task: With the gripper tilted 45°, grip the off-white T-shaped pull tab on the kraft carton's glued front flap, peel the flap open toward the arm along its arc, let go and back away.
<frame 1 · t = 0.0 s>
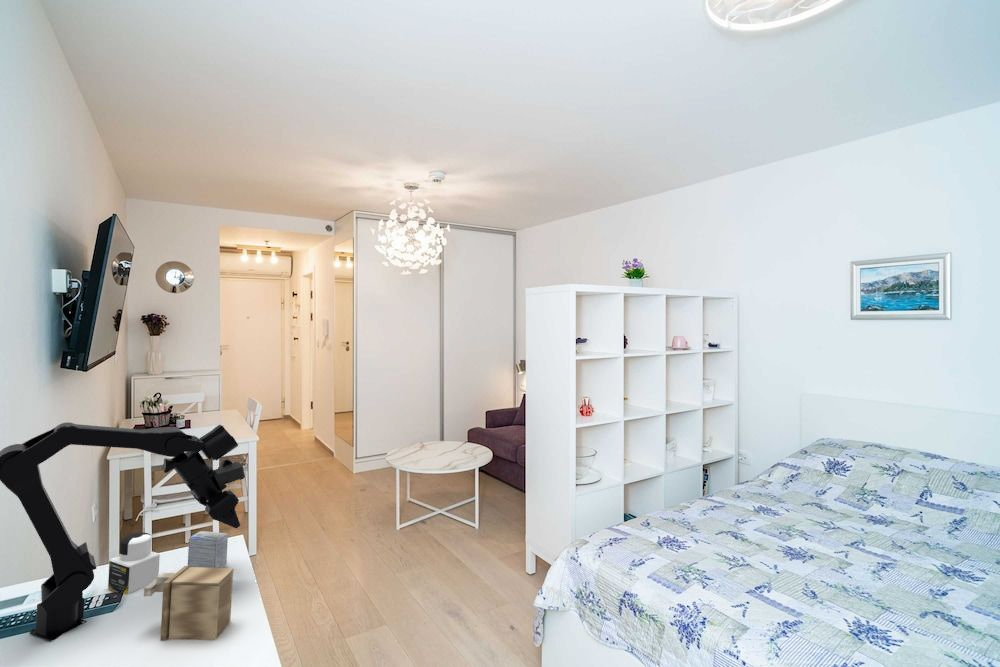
hand: (232, 520, 120), 15 cm above the table, tool tilted 35°, fingers open, 9 cm apart
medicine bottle: (133, 586, 115), on the table
medicine box: (207, 569, 125), on the table
carton: (200, 633, 99), on the table
flap: (165, 601, 99), point 6 cm above the table, hinge at 0.0°
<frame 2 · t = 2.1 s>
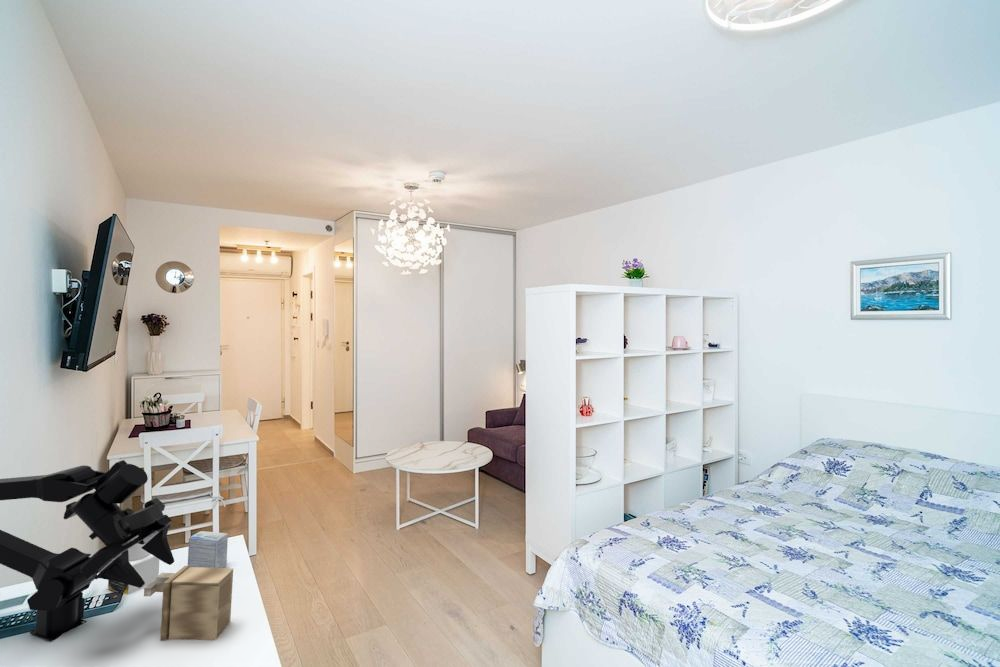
hand: (158, 573, 99), 12 cm above the table, tool tilted 45°, fingers open, 9 cm apart
nothing on the table moved.
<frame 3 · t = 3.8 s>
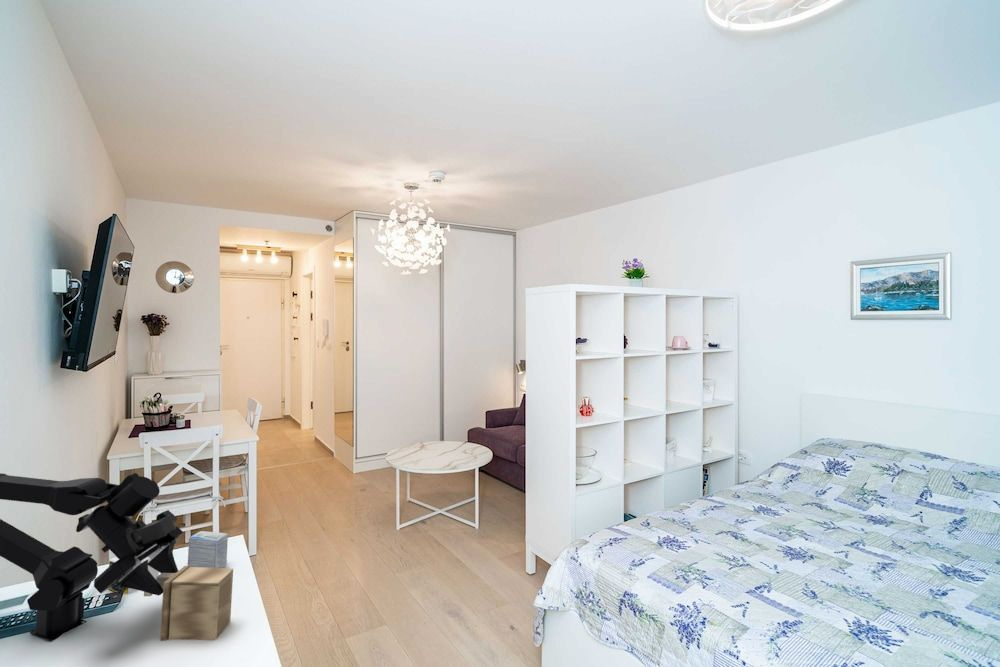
hand: (170, 586, 99), 9 cm above the table, tool tilted 45°, fingers closed on flap, 5 cm apart
flap: (165, 601, 99), point 6 cm above the table, hinge at 0.0°, touching gripper
everything else where it was.
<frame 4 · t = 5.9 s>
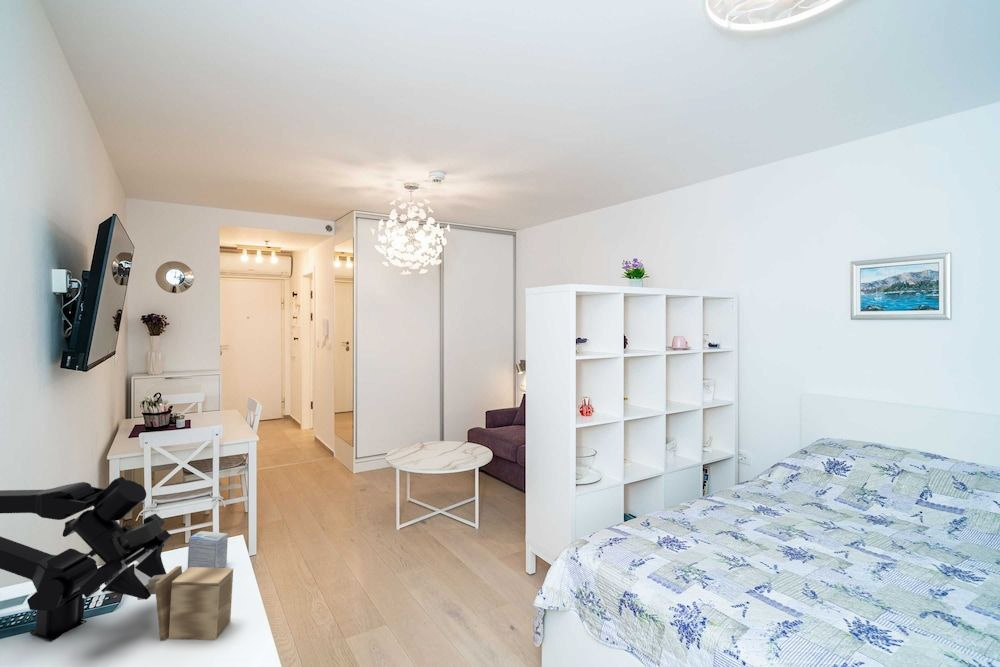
hand: (158, 590, 99), 9 cm above the table, tool tilted 45°, fingers closed on flap, 5 cm apart
flap: (160, 603, 99), point 6 cm above the table, hinge at 8.6°, touching gripper
everything else where it was.
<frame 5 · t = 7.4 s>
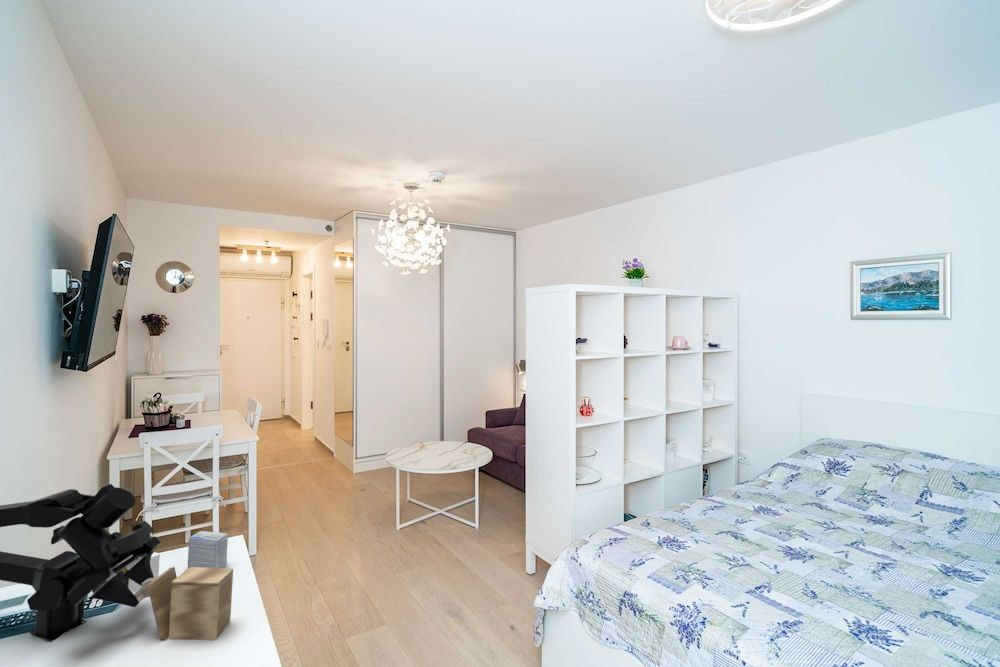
hand: (146, 597, 99), 7 cm above the table, tool tilted 45°, fingers closed on flap, 5 cm apart
flap: (157, 605, 99), point 6 cm above the table, hinge at 15.9°, touching gripper
everything else where it was.
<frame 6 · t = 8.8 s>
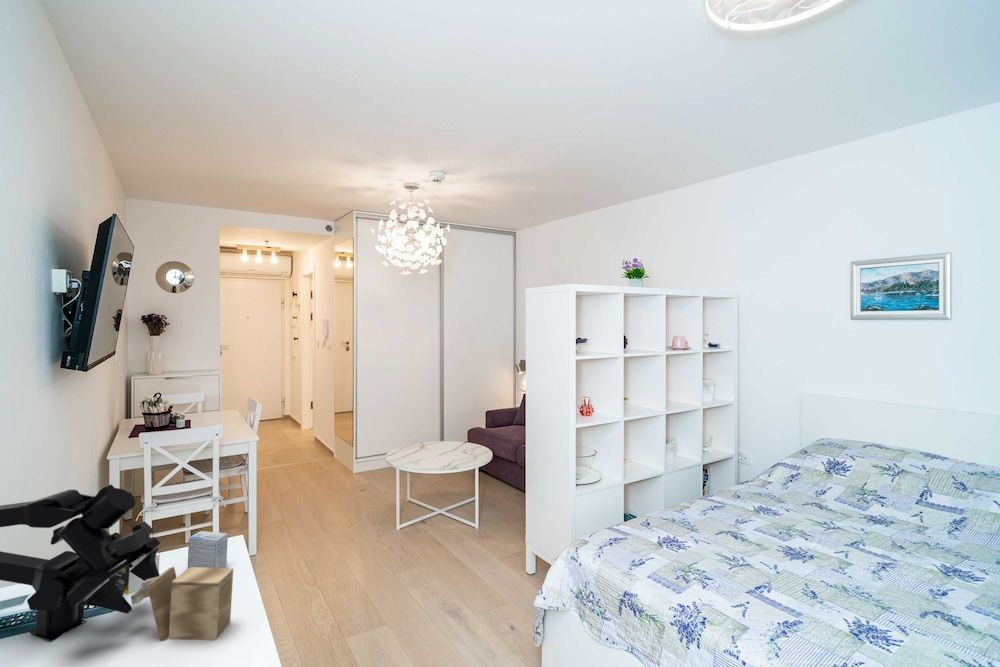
hand: (145, 598, 99), 7 cm above the table, tool tilted 45°, fingers open, 9 cm apart
flap: (157, 605, 99), point 5 cm above the table, hinge at 16.3°
everything else where it was.
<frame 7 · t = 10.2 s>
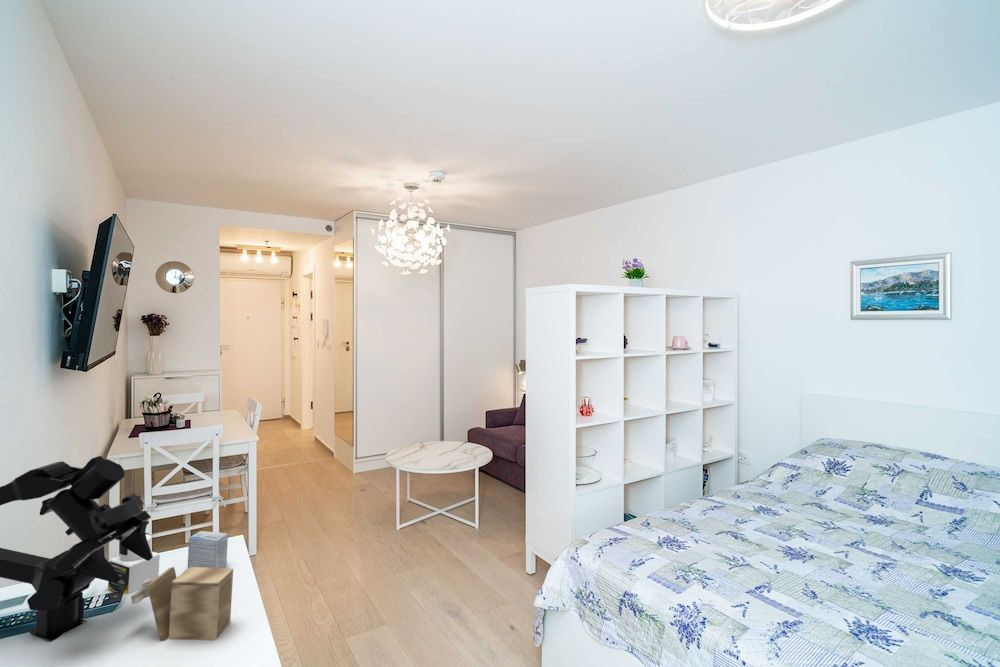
hand: (135, 569, 99), 13 cm above the table, tool tilted 45°, fingers open, 9 cm apart
nothing on the table moved.
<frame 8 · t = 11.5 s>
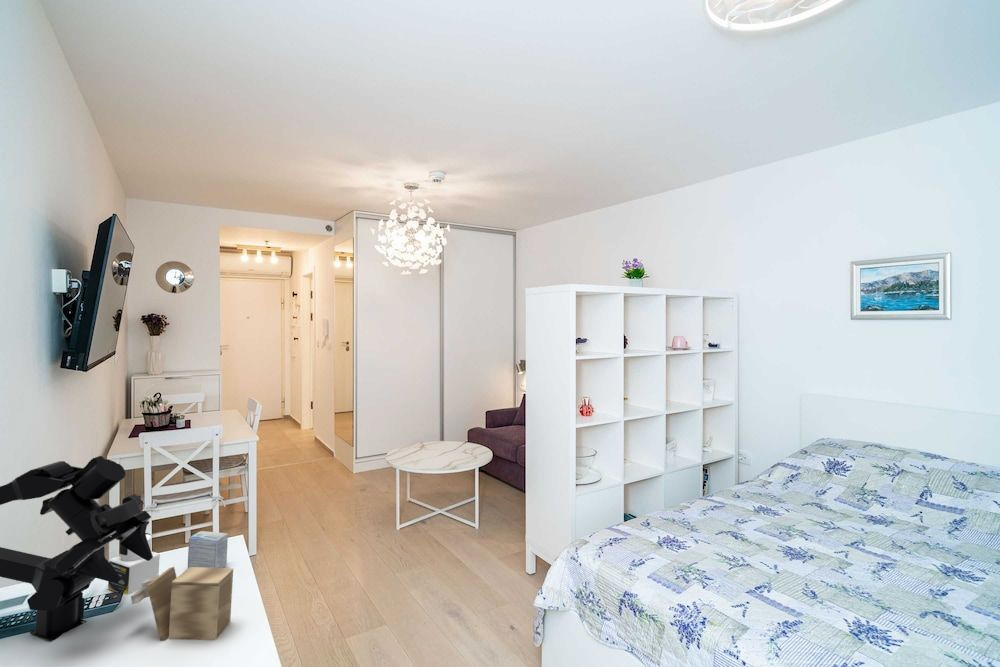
hand: (135, 569, 99), 13 cm above the table, tool tilted 45°, fingers open, 9 cm apart
nothing on the table moved.
at the end: flap at +16° (first picture: +0°); the gripper is holding nothing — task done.
